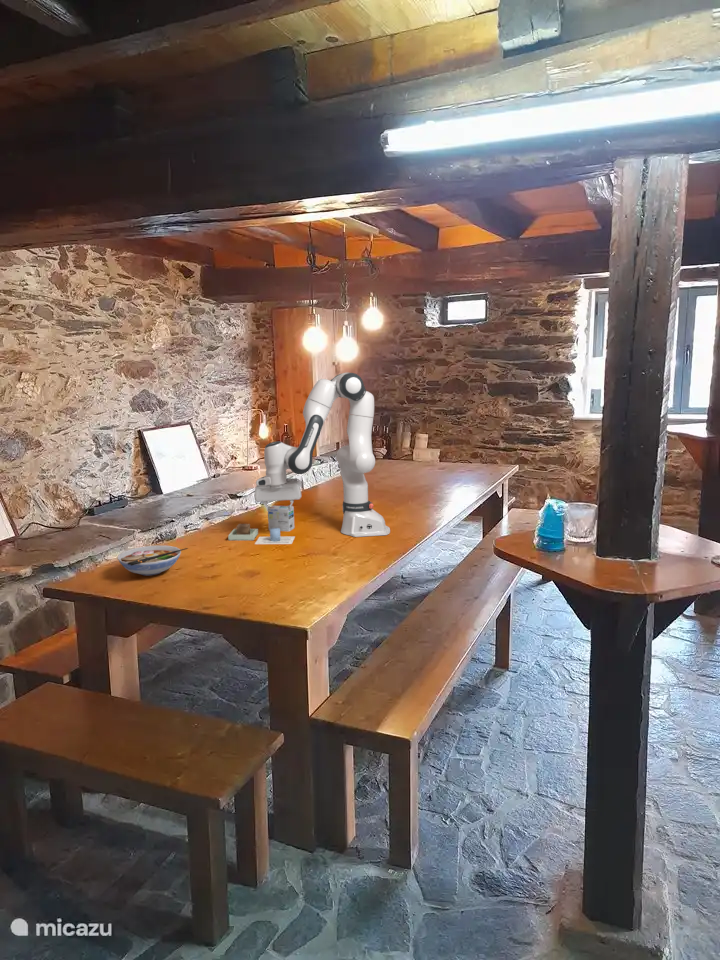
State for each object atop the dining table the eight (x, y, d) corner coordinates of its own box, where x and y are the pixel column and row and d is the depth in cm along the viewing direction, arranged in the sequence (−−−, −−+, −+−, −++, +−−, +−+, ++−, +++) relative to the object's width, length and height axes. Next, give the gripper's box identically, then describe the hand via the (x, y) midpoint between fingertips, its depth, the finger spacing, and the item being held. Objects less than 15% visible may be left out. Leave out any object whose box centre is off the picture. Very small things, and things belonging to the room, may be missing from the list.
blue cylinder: (281, 538, 290) (280, 527, 289) (279, 541, 286) (279, 530, 285) (271, 538, 290) (270, 527, 289) (269, 541, 286) (269, 530, 285)
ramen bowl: (161, 559, 264) (160, 539, 262) (197, 570, 249) (196, 549, 248) (103, 575, 245) (101, 554, 243) (138, 588, 230) (136, 565, 229)
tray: (258, 534, 299) (257, 528, 299) (253, 540, 288) (253, 535, 288) (234, 534, 299) (233, 528, 299) (228, 540, 289) (228, 535, 288)
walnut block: (250, 534, 296) (249, 523, 295) (248, 537, 291) (247, 526, 290) (239, 534, 296) (238, 523, 295) (236, 537, 291) (236, 526, 290)
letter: (295, 536, 294) (295, 536, 293) (291, 544, 282) (291, 543, 282) (259, 537, 294) (259, 536, 294) (254, 544, 282) (254, 544, 282)
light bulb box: (294, 528, 308) (294, 505, 306) (289, 532, 302) (288, 509, 300) (273, 527, 311) (272, 504, 309) (268, 530, 305) (267, 507, 303)
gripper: (301, 476, 288) (303, 507, 291) (254, 479, 289) (257, 509, 292) (299, 479, 282) (302, 510, 285) (252, 482, 283) (255, 513, 286)
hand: (279, 510), depth 288 cm, fingers open, 8 cm apart
